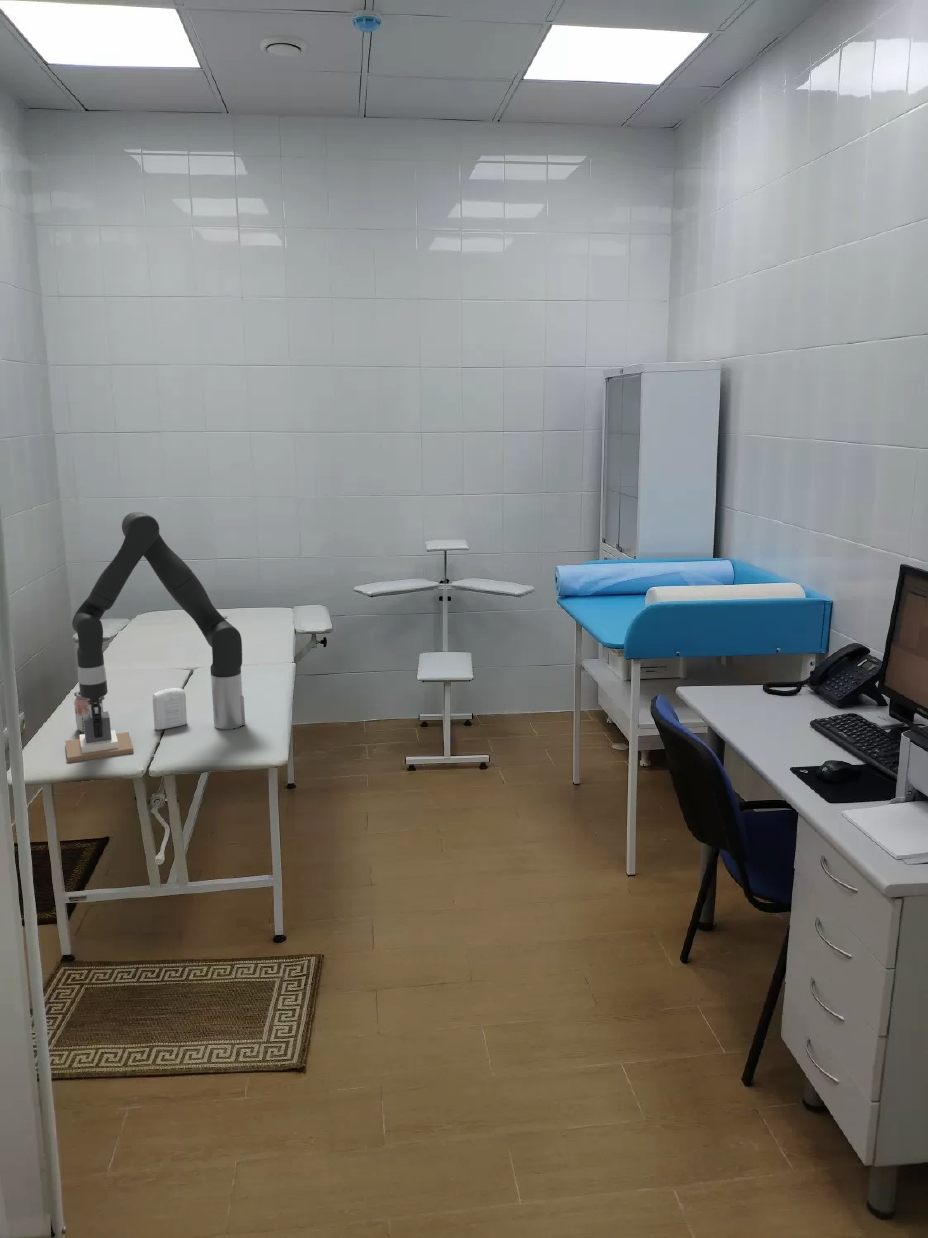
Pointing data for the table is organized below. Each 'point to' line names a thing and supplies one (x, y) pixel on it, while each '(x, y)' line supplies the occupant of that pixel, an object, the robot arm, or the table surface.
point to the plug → (90, 728)
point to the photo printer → (169, 708)
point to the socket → (98, 747)
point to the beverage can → (81, 710)
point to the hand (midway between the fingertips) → (97, 733)
